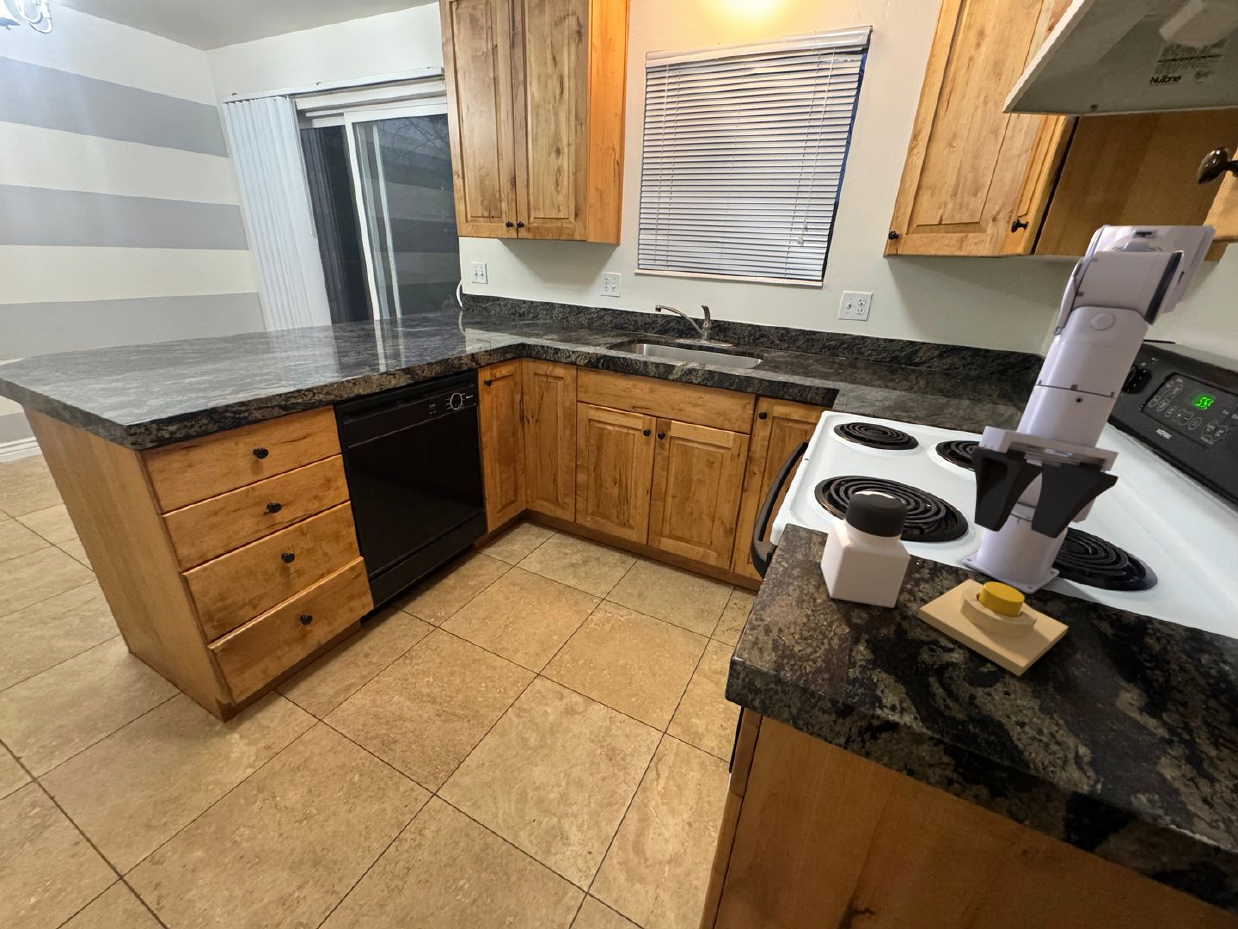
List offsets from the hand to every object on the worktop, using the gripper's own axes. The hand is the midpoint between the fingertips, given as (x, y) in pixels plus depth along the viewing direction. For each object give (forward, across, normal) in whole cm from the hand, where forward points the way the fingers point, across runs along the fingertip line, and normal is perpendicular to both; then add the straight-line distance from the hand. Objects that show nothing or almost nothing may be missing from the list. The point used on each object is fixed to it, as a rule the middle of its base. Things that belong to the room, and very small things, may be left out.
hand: (1015, 530), depth 48 cm
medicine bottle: (+13, -4, +12) cm, 18 cm away
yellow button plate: (+12, +6, +3) cm, 14 cm away
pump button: (+10, +6, +2) cm, 12 cm away
